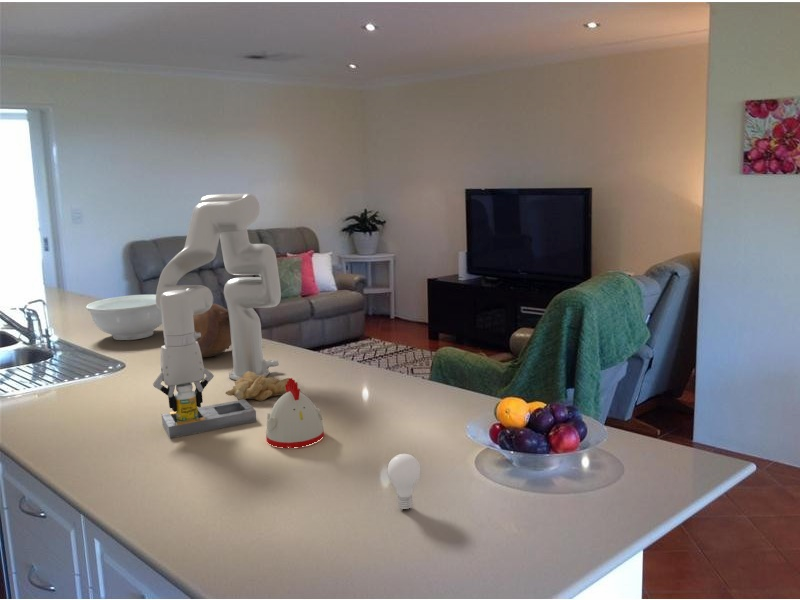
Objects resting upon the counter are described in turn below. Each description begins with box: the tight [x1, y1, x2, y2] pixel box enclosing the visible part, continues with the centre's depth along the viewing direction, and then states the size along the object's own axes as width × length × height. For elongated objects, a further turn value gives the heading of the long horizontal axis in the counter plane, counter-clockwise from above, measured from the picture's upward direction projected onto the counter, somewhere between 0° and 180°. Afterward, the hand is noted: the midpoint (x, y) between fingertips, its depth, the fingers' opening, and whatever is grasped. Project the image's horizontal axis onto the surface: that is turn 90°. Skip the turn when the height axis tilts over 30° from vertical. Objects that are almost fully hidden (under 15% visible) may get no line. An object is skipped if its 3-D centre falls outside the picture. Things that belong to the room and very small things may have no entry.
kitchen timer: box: [265, 377, 325, 448], centre depth 176 cm, size 14×14×15 cm
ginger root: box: [225, 371, 290, 402], centre depth 210 cm, size 16×16×8 cm
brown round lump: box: [193, 302, 232, 358], centre depth 261 cm, size 20×20×30 cm
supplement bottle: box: [174, 383, 199, 422], centre depth 187 cm, size 5×5×10 cm
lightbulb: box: [386, 453, 422, 510], centre depth 138 cm, size 6×6×11 cm
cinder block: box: [160, 399, 257, 439], centre depth 190 cm, size 22×11×3 cm, turn 117°
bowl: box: [85, 294, 163, 341], centre depth 294 cm, size 32×32×15 cm
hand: (186, 407), depth 187 cm, fingers closed on supplement bottle, 5 cm apart
